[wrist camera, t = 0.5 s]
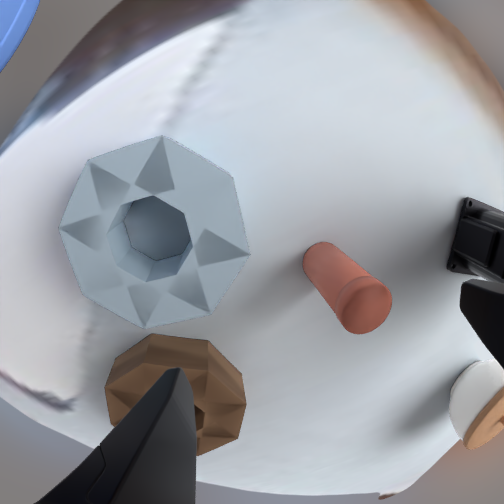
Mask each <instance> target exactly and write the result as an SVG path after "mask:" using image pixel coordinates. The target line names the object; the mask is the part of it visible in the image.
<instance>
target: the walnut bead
mask: <svg viewBox="0 0 504 504" xmlns="http://www.w3.org/2000/svg"><path fill="white" fill-rule="evenodd" d="M176 367H181V368H182V369H183V371H184V373H185V375H186V377H187V379H188V381H189V383H190V385H191V387H192V391H193V397H194V410H195V422H196V434H197V451H196V456H199V455H202V454H204V453H207V452H209V451H211V450H214V449H216V448H218V447H220V446H223V445H225V444H227V443H229V442H231V441H234V440H236V439H238V436H239V432H240V428H241V424H242V420H243V416H244V412H245V408H246V398H245V392H244V386H243V380H242V374H241V373H240V372H239V371H238V370H237V369H236V368H235V367H234V366H233V365H232V364H231V363H230V362H229V361H228V360H227V359H226V358H225V357H224V356H223V355H222V354H221V353H220V352H219V351H218V350H217V349H216V348H215V347H214V346H213V345H212V344H211V343H210V342H209V341H208V340H198V339H189V338H181V337H173V336H165V335H158V334H150V335H149V336H147V337H146V338H145V339H143V340H142V341H140V342H139V343H137V344H136V345H134V346H133V347H132V348H130V349H129V350H127V351H126V352H124V353H123V354H121V355H120V356H119V357H117V358H116V359H115V361H114V364H113V366H112V369H111V372H110V374H109V377H108V380H107V382H106V385H105V394H106V400H107V406H108V411H109V417H110V422H111V424H112V425H113V426H114V427H115V426H116V425H117V424H118V423H119V422H120V421H121V420H122V419H123V418H124V417H125V415H126V414H127V413H128V412H129V411H130V410H131V409H132V408H133V407H134V406H135V404H136V403H137V402H138V401H139V400H140V399H141V398H142V397H143V396H144V394H145V393H146V392H147V391H148V390H149V389H150V388H151V387H152V386H153V384H154V383H155V382H156V381H157V380H158V379H159V378H160V377H161V375H162V374H163V373H164V372H165V371H166V370H167V369H170V368H176Z"/></svg>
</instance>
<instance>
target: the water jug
mask: <svg viewBox="0 0 504 504" xmlns="http://www.w3.org/2000/svg"><path fill="white" fill-rule="evenodd" d="M39 2H40V0H0V72H1V71H2V70H3V68H4V67H5V65H6V64H7V63H8V61H9V60H10V59H11V57H12V55H13V54H14V52H15V51H16V49H17V48H18V46H19V44H20V43H21V41H22V39H23V37H24V36H25V34H26V32H27V30H28V28H29V26H30V24H31V22H32V20H33V17H34V15H35V13H36V11H37V8H38V5H39Z"/></svg>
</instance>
